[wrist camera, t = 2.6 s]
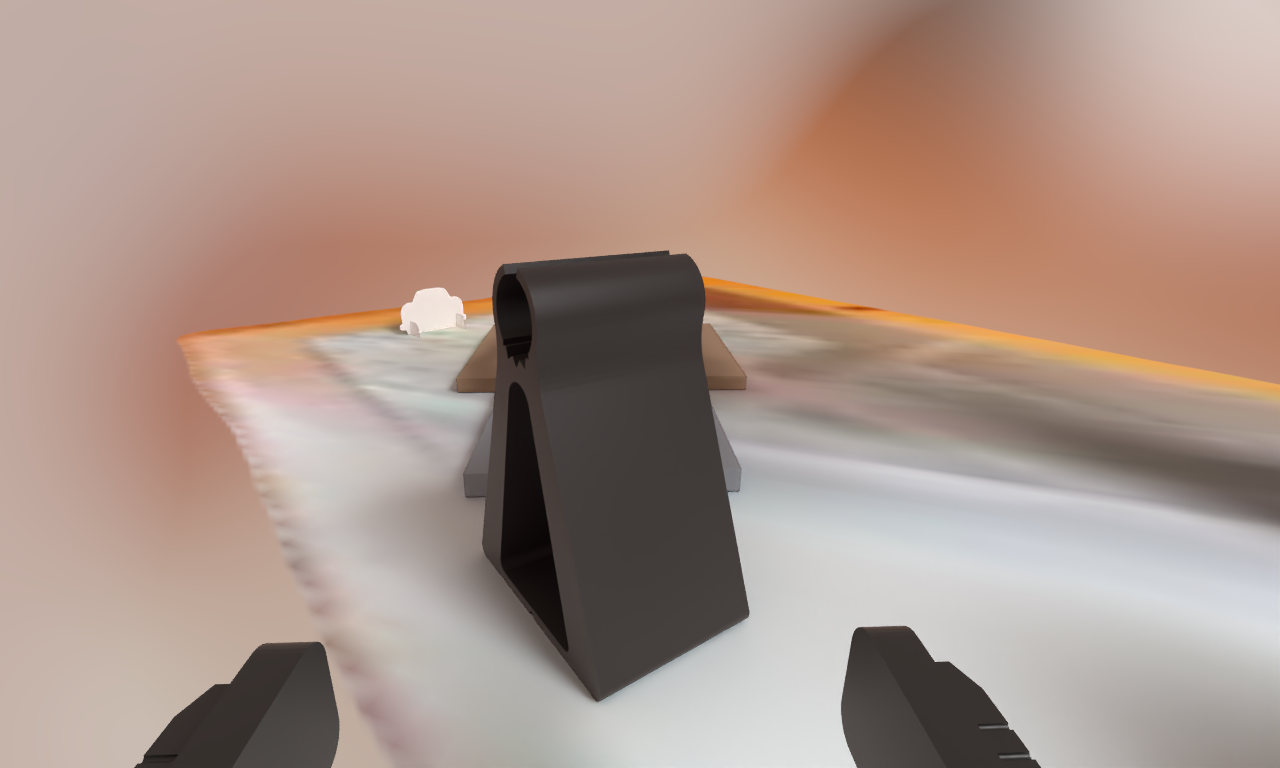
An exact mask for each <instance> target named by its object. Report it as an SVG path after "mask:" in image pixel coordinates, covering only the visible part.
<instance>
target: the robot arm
mask: <svg viewBox="0 0 1280 768" xmlns="http://www.w3.org/2000/svg"><path fill="white" fill-rule="evenodd" d="M841 715H842V724H843V729H844V734H845V738H846V741H847V744H848V747H849V750H850V752H851V754H852V757H853V759H854V761H855V764H856V766H857V768H1041V767H1040V766H1039V764H1038V763H1037V761H1036V760H1032V759H1031V757H1030V755H1029V751H1028V749H1027V748H1026V747H1025V745H1024V744H1023V743H1022V741H1021V740H1020V738H1019V737H1018V736H1017V734H1016V733H1015V732H1014V730H1010V729H1009V727H1008V722H1007V721H1006V720H1005V718H1004V717H1003V716H1002V714H1001V713H1000V711H999V710H998V709H997V707H996V706H995V705H994V703H993V702H992V701H991V699H990V698H989V697H988V695H987V694H986V693H985V691H984V690H983V689H982V688H981V687H980V686H978V685H977V684H976V683H975V682H973V681H972V680H971V679H970V678H969V677H967V676H966V675H965V674H964V673H962V672H961V671H960V670H959V669H957V668H956V667H955V666H954V665H953V664H951V663H950V662H935V661H934V660H933V659H932V657H931V656H930V654H929V653H928V651H927V650H926V648H925V647H924V645H923V644H922V642H921V641H920V639H919V638H918V637H917V635H916V634H915V633H914V631H913V630H912V629H911V628H909V627H907V626H885V627H859V628H857V629H856V630H855V631H854V633H853V637H852V642H851V648H850V654H849V659H848V665H847V671H846V677H845V683H844V689H843V695H842V702H841ZM338 739H339V716H338V711H337V706H336V701H335V696H334V691H333V686H332V681H331V676H330V671H329V666H328V661H327V656H326V652H325V648H324V646H323V645H322V644H321V643H320V642H295V643H266V644H262V645H261V646H259V647H258V648H257V649H256V650H255V651H254V652H253V653H252V655H251V656H250V657H249V659H248V660H247V661H246V663H245V664H244V665H243V667H242V668H241V670H240V671H239V672H238V674H237V675H236V676H235V678H234V679H233V681H232V682H231V684H215V685H214V686H213V687H211V688H210V689H209V690H208V691H206V692H205V693H204V694H203V695H201V696H200V697H199V698H198V699H196V700H195V701H194V702H192V703H191V704H190V705H189V706H187V707H186V708H185V709H184V710H182V711H181V712H180V713H179V714H177V715H176V716H175V717H174V718H173V719H172V721H171V722H170V723H169V724H168V726H167V727H166V728H165V730H164V731H163V732H162V733H161V734H160V736H159V737H158V738H157V740H156V741H155V742H154V743H153V745H152V746H151V747H150V748H149V750H148V751H147V752H146V754H145V755H144V759H143V762H142V763H141V764H137V765H136V767H134V768H331V766H332V763H333V760H334V757H335V754H336V750H337V745H338Z"/></svg>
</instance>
